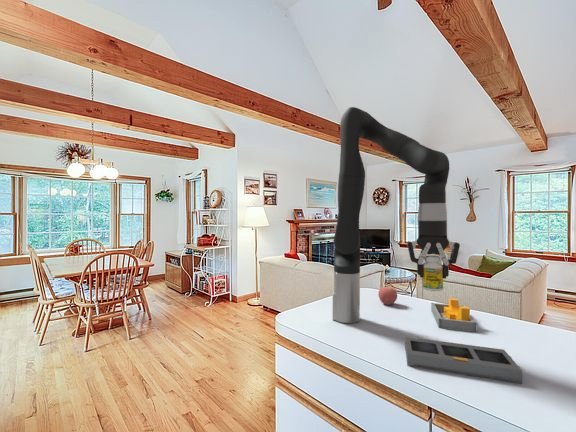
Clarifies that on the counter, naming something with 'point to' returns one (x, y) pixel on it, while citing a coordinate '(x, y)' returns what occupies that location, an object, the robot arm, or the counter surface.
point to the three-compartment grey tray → (462, 359)
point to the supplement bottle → (432, 274)
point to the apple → (387, 295)
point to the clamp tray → (451, 320)
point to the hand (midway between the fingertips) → (432, 277)
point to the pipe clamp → (456, 311)
